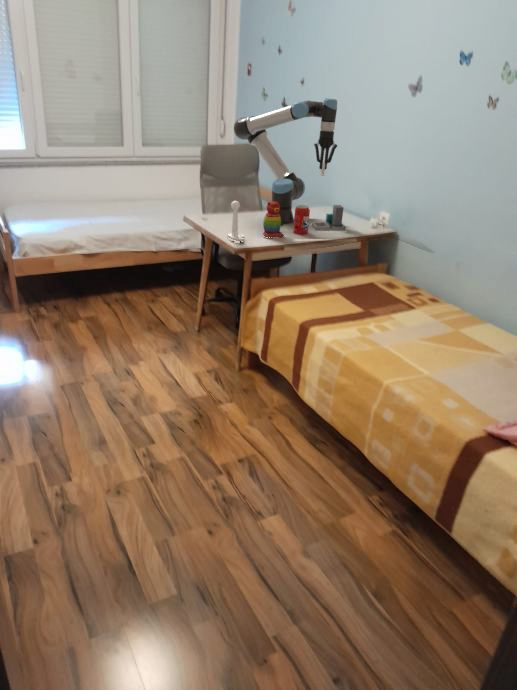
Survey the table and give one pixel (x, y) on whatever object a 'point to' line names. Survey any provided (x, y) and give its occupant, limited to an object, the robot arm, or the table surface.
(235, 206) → the joystick
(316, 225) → the gray square tray
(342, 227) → the port
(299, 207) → the soda can
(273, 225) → the stacking bear
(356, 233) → the table surface
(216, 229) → the table surface
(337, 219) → the grey upright block
